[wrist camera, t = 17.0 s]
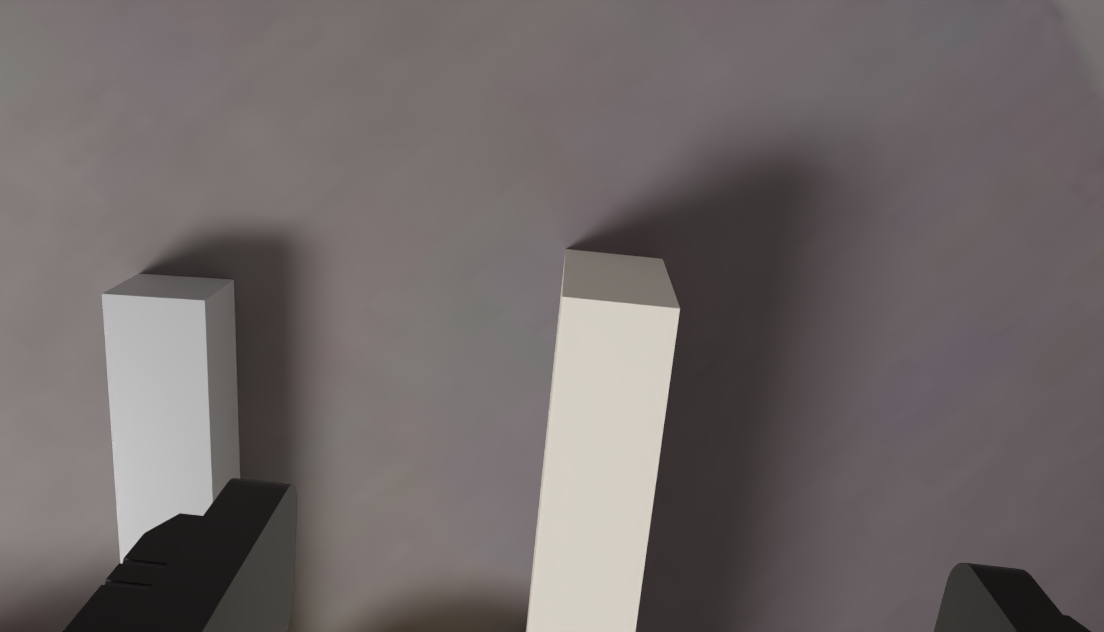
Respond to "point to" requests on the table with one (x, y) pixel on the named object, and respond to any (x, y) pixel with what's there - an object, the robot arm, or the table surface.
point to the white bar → (602, 442)
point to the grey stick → (170, 397)
